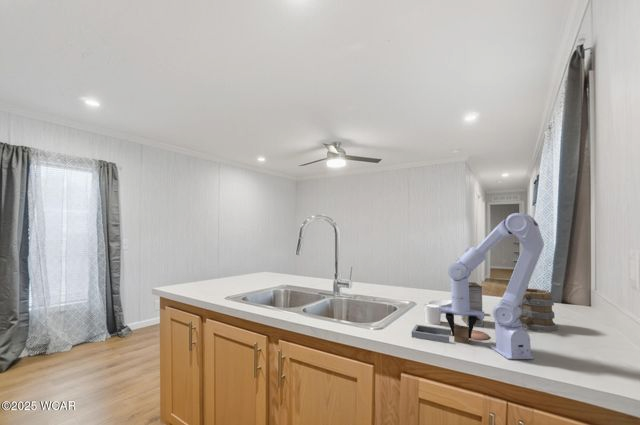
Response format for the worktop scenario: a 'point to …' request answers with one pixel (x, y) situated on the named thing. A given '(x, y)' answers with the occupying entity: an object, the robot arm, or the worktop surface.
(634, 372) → the worktop surface
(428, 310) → the white cylinder
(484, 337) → the peach dome
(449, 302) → the spoon rest
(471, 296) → the coffee box
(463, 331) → the block
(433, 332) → the grey shallow rectangular tray
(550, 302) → the tankard
